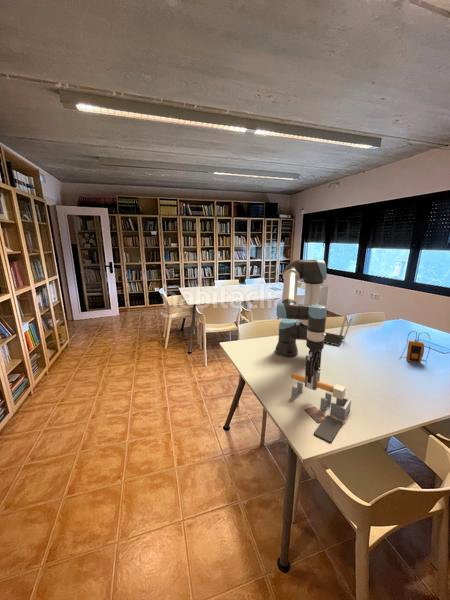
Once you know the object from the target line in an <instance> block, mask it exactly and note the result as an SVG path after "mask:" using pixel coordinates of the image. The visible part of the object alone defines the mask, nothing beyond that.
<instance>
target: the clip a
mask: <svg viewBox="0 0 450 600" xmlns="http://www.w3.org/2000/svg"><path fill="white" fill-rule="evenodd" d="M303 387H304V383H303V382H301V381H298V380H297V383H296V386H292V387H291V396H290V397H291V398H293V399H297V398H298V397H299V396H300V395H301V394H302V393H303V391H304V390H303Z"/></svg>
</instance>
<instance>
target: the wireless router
mask: <svg viewBox="0 0 450 600" xmlns="http://www.w3.org/2000/svg"><path fill="white" fill-rule="evenodd" d="M347 316H348V315H347V314H345V315H344V318H343V322H342V325H341V327H340V328H341V329H340V332H339V334H335V333H331V332H325V334H326V336H324V342H326V343H325V344H328V343H331V344H330V345H333V344H335V346H338V345H340V344H341V343H342V340H343V341H345V339H346V337H347V334H348V332H349V328H350V326H351V323H352V320H353V317H351V318H350V319H349V322H348V324H347V327H346V329H345V333H344V328H345V324H346V320H347ZM343 333H344V335H343Z"/></svg>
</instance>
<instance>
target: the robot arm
mask: <svg viewBox="0 0 450 600" xmlns="http://www.w3.org/2000/svg"><path fill="white" fill-rule="evenodd" d="M327 273H328V272H327V264H326V262H325V260H322V259H295V260H293V261H292V262H290V263H288V264H287V266H285V268H284V270H283V272H282V279H283V287H282V296H281V297H282V298H281V302H280V303H277V304H276V317H277V318H279V319H282V320H280V321H279V324H278V341H277V344H276V345H275V351H276V352H275V353H276V354H277V355H278V354H279V355H278V356H280V355H281V356H280V357H284V356H286V358H293V356H294V357H296V356H298V355H299V353H298V352H299V351H298V346H297V341H298V340H299V341H306V343H305V344H306V347H307V348H308V355H306V356H305V372H304V373H305V374H304V377H305V376H307V385H306V387H305V388H306V389H310V390H313V378H314V376H313V371H318V372H321V364H322V362H321V361H322V351H323V349H324V346H325V343H324V336H326V334H325V333H326V324H327V323H326V322H327V315H328V313H327V309H328V308H327V307H326V306H325V305H323V304H319V302H320V292H321V290H320V289H321V285H322V284H324V281H326V280H327ZM298 280H303V283H304V284H305V286H304V287H305V288H304V289H305V290H304V302H303V304H298V303H297V302H298V299H297V298H298ZM298 320H299V322H298Z"/></svg>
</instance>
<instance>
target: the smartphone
mask: <svg viewBox="0 0 450 600" xmlns="http://www.w3.org/2000/svg"><path fill="white" fill-rule="evenodd" d="M343 425H344V422H343V421H342V420H339V419H337V418H336V417H335V418H334V417H332V416H331V415H329V414H328V415H326V416H325V417H324V418H323V420H322V421H321V422H320V424H319V425H318V427H316V430H315V431H314V432H313V436H315V437H317V438H319V439H320V440H323V441H325V442H326V443H329V444H332V443H333V441H334V439H335V438H336V436H337V435H338V433H339V431H340V429H341V428H342V427H343Z"/></svg>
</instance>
